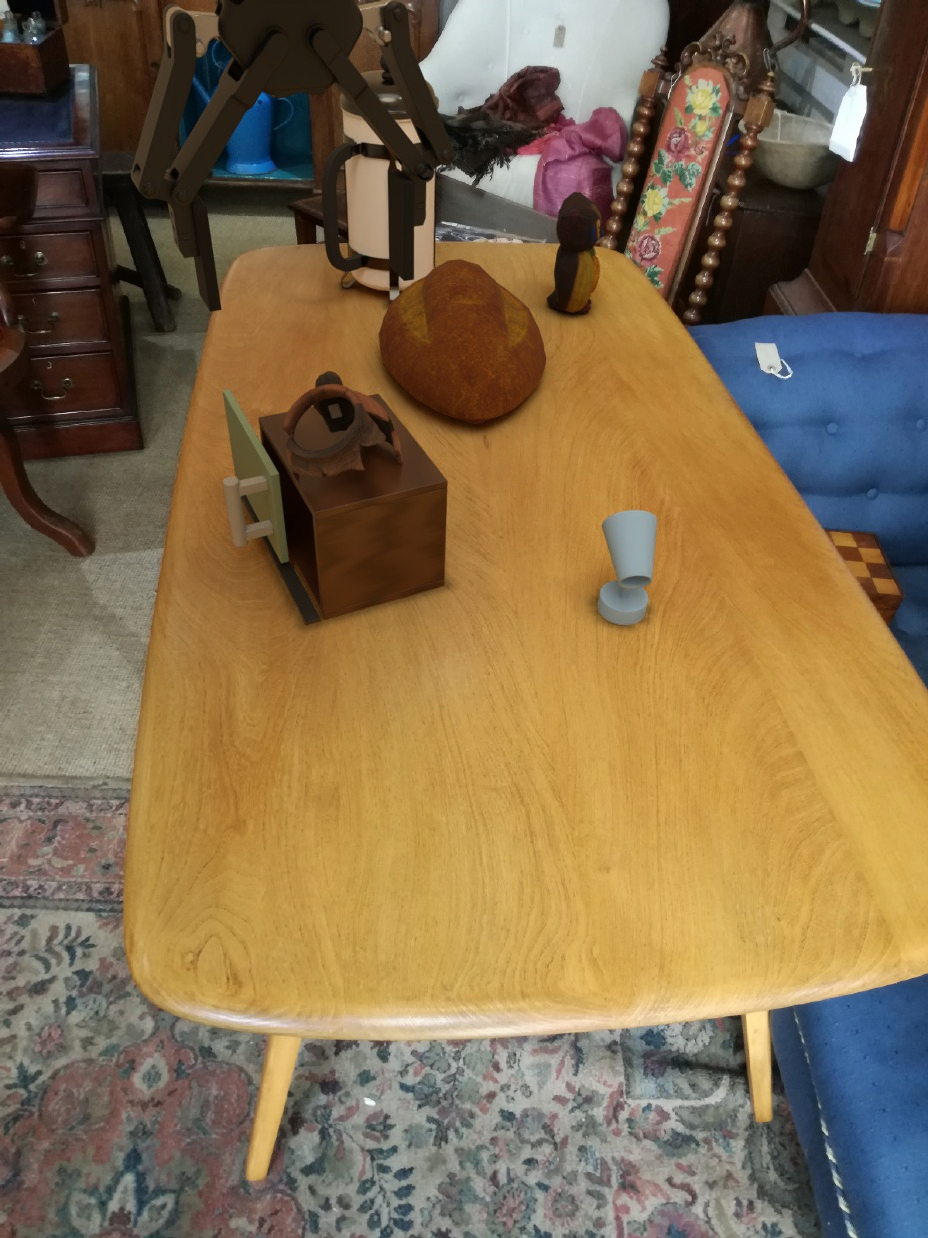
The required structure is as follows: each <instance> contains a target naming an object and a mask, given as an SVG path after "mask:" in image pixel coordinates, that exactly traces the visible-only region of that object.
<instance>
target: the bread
mask: <svg viewBox="0 0 928 1238" xmlns="http://www.w3.org/2000/svg"><path fill="white" fill-rule="evenodd" d="M435 267H436V268H434V267H433V270H432V271H431V272H430V273H429V274H428V275H427V276H425V277H423V278H421V279H419V280H417V281H415V282H414V283H412V284H411V285H410V286H408V287H407V288H406V289H405V290H403V291H400V292H399V295H398V296H397V297H396V298H395V299H394V300H393V301H392V302H391V304H390V303H389V306H388V308H387V310H386V312H385V314H384V316H383V318H382V322H381V325H380V328H379V332H378V343H379V353H380V357H381V360H382V363H383V366H384V367H385V369H386V370H387V372H388V373H389V374H390V376H391V378H393V379H394V380H395V381H396V383H397V384H399V386H401V387H402V388H403V390H405V391H406V392H407V393H408V394H409V395H411V396H412V397H413V398H414V399H415V400H417V401H418V402H420V403H422V404H423V405H425V406H426V407H429V408H431V409H432V410H435V411H436V412H439V413H441V414H443V415H445V416H448V417H450V418H453V419H456V420H460V421H462V422H465V423H469V424H483V423H485V422H488V421H490V420H494V419H496V418H498V417H502V416H504V415H506V414H508V413H509V412H510V411H512V410H514V409H515V408H517V407H518V406H519V405H521V404H522V403H523V402H524V401H525V400H526V399H528V398H529V397H530V395H531V394H532V393H533V391H534V390H535V389H536V388H537V387H538V385H539V384H540V382H541V379H542V377H543V374H544V372H545V369H546V362H547V355H546V351H545V343H544V339H543V337H542V334H541V331H540V327H539V326H538V324H537V322H536V319H535V318H534V315H533V313H532V311H531V310H530V308H529V306H527V305H526V304H525V303H524V302H523V301H522V300H521V299H519V298H518V297H517V296H516V295H514V293H512V292H511V291H510V290H509V289H507V288H505V286H503V285H502V284H500V283H499V282H497V281H496V280H495V278H493V277H492V276H491V275H490V274H489V273H488V272H487V271H486V270H485V269H484V268H483V267H482V266H481V265H480V264H478V263H475V262H472V261H468V260H464V259H461V258H457V259H448V260H446V261H445V262H442V263H441V264H439V265H437V266H435Z"/></svg>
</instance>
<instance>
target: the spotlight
mask: <svg viewBox="0 0 928 1238" xmlns="http://www.w3.org/2000/svg"><path fill="white" fill-rule="evenodd" d="M601 529H602V532H603V535H604V538H605V543H606V547H607V549H608V552H609V556H610V560H611V563H612V566H613V569H614V573H615V576H616V579H615V580H610V581H608V582H606V583H604V584H603V585H602V586H601V588H600V590H599V595H598V599H597V605H596V606H597V607H596V608H597V611H598V613H599V615H600V616H601V617H602V618H603V619H604V620H606V621H608V623H609V622H610V623H612V624H615V625H620V626H632V625H635V624H639V623H640V622H641V621H642V620H644V618H645V616H646V612H647V609H648V604H649V594H648V592H647V591H646V590H645V587H648V586H650V585H651V584H652V582H653V575H654V562H655V555H656V553H655V552H656V542H657V531H658V517H657V515H655V514H654V513H652V512H649V511H646V510H640V509H630V510H624V511H623V510H622V511H619V512H615V513H613V514H611V515H609V516H607V517H606V518H605V519H604V520H603V521H602V523H601Z"/></svg>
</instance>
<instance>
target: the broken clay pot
mask: <svg viewBox="0 0 928 1238" xmlns="http://www.w3.org/2000/svg"><path fill="white" fill-rule="evenodd" d="M310 407H314V408H315V409H316V410H317V412H318V413H319V414H320V415H321V416H322V417H323V419H324V422H325V424H326V425H327V426H328V429H329V431H330V432H331V433H333V432H338V431H346V430H347V429H348V427H349V426H350V425H352V426H351V428H350V430H349V432H348V433H347V434H346V435H345V437H344V438H343V439H341V440H340V441H339V442H337V443H336V444H334V445H332V446H331V447H329V448H326V449H323V450H317V451H313V450H306V449H303V448H301V447H300V446H299V445H297V443H296V442H295V440H294V433H295V428H296V426H297V424H298V421H299V420H300V418H301V417H302V415H303V414H304V413H305V412H306V411H307V410H308V409H309V408H310ZM287 412H288V413H287V415H286V417H285V420H284V424H283V429H284V430H285V431H286V432H287V433H288V434H287V443H286V455H287V460H288V463H289V465H290V467H291V470H292V471H293V472H294V473H297V474H299V475H303V476H306V477H310V478H317V479H323V478H325V477H326V475H327V476H329V477H332V476H335V475H338V474H339V473H342V472H344V471H346V470H350V469H355V470H365V468H364V467H363V464H362V460H361V456H360V451H359V445H362V446H366V447H369V446H373V445H376V444H382V443H384V441H385V442H388V443H389V444H391V445H392V446H393V448H394V452H395V453H396V458H397V462H398V463H399V464H402V462H403V457H402V453H401V445H400V442H399V438H398V436H397V434H396V432H395V429H394V426H393V423H392V420H391V418H390V417H389V416H388V415H387V413H386V411H385V410H384V408H383V407H382V406H381V405H379V404H378V403H377V402H376V401H375V400H374V399H372V398H371V397H369V396H368V395H367V394H365V393H362V392H360V391H356V390H353V389H351V388H349V387H348V386H346V385H344V383H343V381H342V378H341V376H340V375H339V374H337V373H336V371H332V370H326V371H325V372H324V373H321V374H320V375H318V376H317V378H316V380H315V384H314V388H313V387H312V388H311V389H310V390H308V391H306V392H305V393H304V394H302V395H300V397H299V398H297V400H295V402H294V403H293V404H292V405H291V407H290V408H289V409H288V411H287ZM352 423H353V424H352Z"/></svg>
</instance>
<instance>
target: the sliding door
mask: <svg viewBox="0 0 928 1238" xmlns="http://www.w3.org/2000/svg"><path fill="white" fill-rule="evenodd" d="M222 397H223V403H224V411H225V418H226V424H227V429H228V431H227V432H228V436H229V444H230V450H231V456H232V462H233V469H234V475H235V476H227V477H225V478H224V479H223V480H222V485H223V486H222V487H223V492H224V498H225V505H226V511H227V516H228V522H229V529H230V534H231V541H232V545H233V546H234V547H235V548H243V547H246V546H247V545H248V544H249V541H250V540H254V539H258V538H261V537H262V536H266V535H267V537H268V539H269V541H270V543H271V545H272V546H273V548H274V550H275V552H276V554H277V556H278V558H279V560H280V562H281V563H285V562H289V560H290V558H289V557H290V555H289V553H288V547H287V538H286V530H285V521H284V512H283V504H282V495H281V486H280V477H279V473H278V471H277V469H276V468H275V466H274V464H273V462H272V461H271V459H270V457H269V456H268V454H267V452H266V450H265V449H264V447H263V445H262V443H261V439H260V438H259V437H258V435H257V433H256V431H255V429H254V427H253V425H252V424H251V423H250V421H249V419H248V417H247V415H246V414H245V412H244V411H243V409H242V407H241V405H240V403H239V402H238V400H237V398H236V397H235V394H234V393H233V391H232V390H231V388H227V389H222ZM243 495H246V496H247V498H248V500H249V502H250V504H251V506H252V508H253V510H254V512H255V514H256V516H257V518H258V519H259V521H260V522H258V523H254V522H253V523H251V524H246V519H245V518H246V517H245V512H244V511H245V510H244V505H243V504H244V503H243V501H242V498H241V496H243Z"/></svg>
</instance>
